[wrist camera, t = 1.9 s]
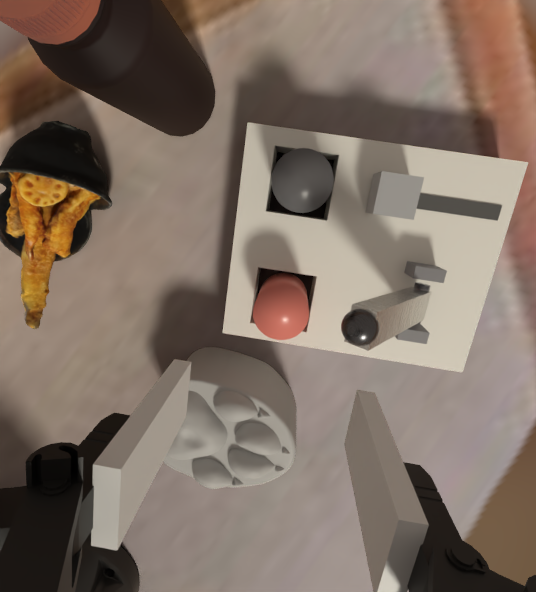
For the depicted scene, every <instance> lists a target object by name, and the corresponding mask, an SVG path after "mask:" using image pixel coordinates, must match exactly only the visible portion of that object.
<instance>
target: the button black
mask: <svg viewBox="0 0 536 592" xmlns="http://www.w3.org/2000/svg"><path fill="white" fill-rule="evenodd" d="M271 182H272V190H273V193H274V195H275V197H276V199H277V200H278V202H279V203H280V204H281V205H282V206H283V207H285V208H286V209H288V210H290V211H293V212H297V213H306V212H310V211H313V210H315V209H317V208H319V207H320V206H321V205H323V204H324V203H325V202H326V200H327V199H328V198H329V196H330V194H331V191H332V188H333V182H334V177H333V171H332V168H331V166H330V164H329V162H328V160H327V159H326V158H325V157H324V156H323V155H322V154H320V153H319V152H317V151H315V150H313V149H309V148H298V149H294V150H291V151H289V152H288V153H286V154H285V155H283V156H282V157H281V158H280V159H279V161H278V162H277V164H276V165H275V167H274V170H273V173H272V180H271Z"/></svg>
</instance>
